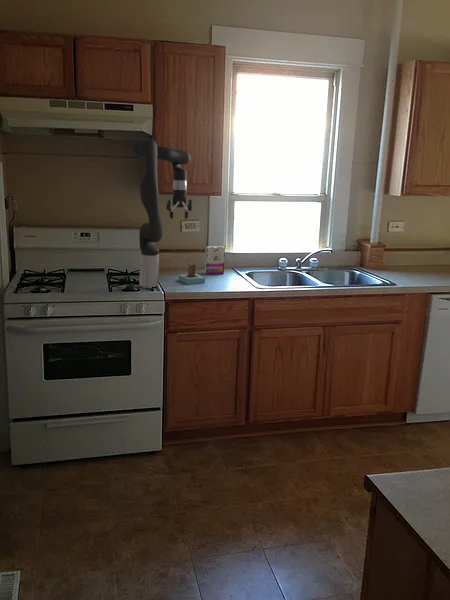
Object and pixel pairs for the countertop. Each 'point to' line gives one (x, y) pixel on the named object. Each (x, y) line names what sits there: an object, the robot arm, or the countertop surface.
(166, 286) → the countertop surface
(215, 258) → the candy bar box
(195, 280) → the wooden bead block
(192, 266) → the tall brown block
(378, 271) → the countertop surface
